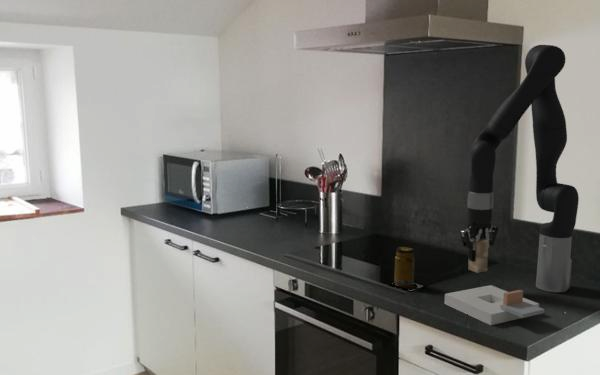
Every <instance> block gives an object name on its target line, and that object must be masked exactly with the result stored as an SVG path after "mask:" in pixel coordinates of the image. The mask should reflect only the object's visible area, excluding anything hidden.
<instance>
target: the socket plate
mask: <svg viewBox="0 0 600 375" xmlns="http://www.w3.org/2000/svg"><path fill="white" fill-rule="evenodd" d="M506 292H508V291H507V290H505V289H502V288H499V287H497V286H495V285H492V284H491V285H485V286H480V287H474V288H469V289H462V290H458V291H454V292H448V293H445V294H444V304H445V305H447V306H448V307H451V308H453V309H454V310H457V311H458V312H461V313H464V314H466V315H467V314H468V316H469V317H471V318H474V319H477V320H478V321H481V322H483V323H485V324H487V325H489V326H493V325H497V324H498V325H499V324H501V323H502V324H503V323H507V322H511V321H515V320H519V319H522V318H521V317H519V316H517V315H514V314H512V313H510V312H507V311H505V310H502V309H500V305H503V298H504V293H506ZM523 301H524V302H527V303H529V304H532V305H535V306H537V307H540V303H538V302H536V301H534V300H530V299H528V298H525V297H523Z"/></svg>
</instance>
